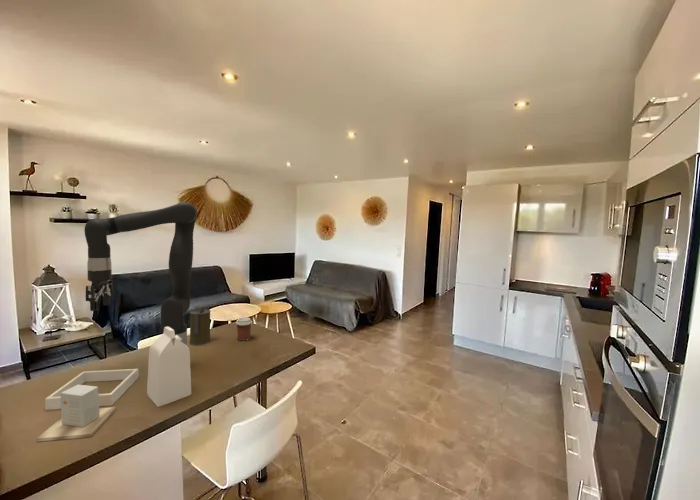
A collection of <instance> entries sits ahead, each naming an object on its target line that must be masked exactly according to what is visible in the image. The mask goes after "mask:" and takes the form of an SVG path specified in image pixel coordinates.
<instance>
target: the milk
mask: <svg viewBox="0 0 700 500" xmlns="http://www.w3.org/2000/svg"><path fill="white" fill-rule="evenodd" d="M181 340H182V338H180V337H179V336H177V335H176V336H175V332H174V330H173V329H172V328H170V327H164V333H162V334H161V335H160V336H159V337H158V338H157V339H156V340H155V341H154V342H152V344H151V345H150V346H149V349H148V364H147V365H148V366H147V368H148V369H147V370H148V371H147V383H146V384H147V387H146V396H148V397H149V399H151V401H152V403H154V404H155V406H157V408H160V407H162V406H164V405H168V404H171V403H173V402H175V401H178V400H181V399H183V398H185V397H188V396H191V395H192V378H191V376H192V374H191V357H190V356H191V353H190V351H191V350H190V348H189V347H188V346H189V345H188V344H187V345H188V346H187V345H185V344H184V343H182V342H181Z"/></svg>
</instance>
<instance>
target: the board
mask: <svg viewBox="0 0 700 500" xmlns="http://www.w3.org/2000/svg"><path fill="white" fill-rule="evenodd" d="M117 409H118V408H117V406H112V407H110V406H109V407H99V415H100V416H99V417H98V418H97V419H95V420H93V421H92V422H90V423H89V424H87V425H86V426H84V427H78V426H71V425H64V424H62V417H60V418H59V419H58V420H56V422H54V423H53V424H52V425H51V426H49V428H47V429H46V430H45V431H44V432H42V433H41V434H40V435H39V436H38V437H37V438H36V442H38V443H39V442H49V441H59V440H60V441H61V440H72V439H83V438H92V437H93V436H94V435H95V434H96V433H97V432H98V430H100V428H101V427H102V426H103V425H104V424H105V423H106V422H107V421H108V420H109V418H110V417H111V416H112V415H114V413H115V412H116V411H117Z"/></svg>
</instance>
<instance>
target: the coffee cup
mask: <svg viewBox="0 0 700 500" xmlns="http://www.w3.org/2000/svg"><path fill="white" fill-rule="evenodd" d="M252 324H253V320H251V318H250V317H249V316H248V317H247V316H246V317H244V316H243V317H238V319H237V320H236V321H235V325H236V330H237V331H236V332H237V340H238V339H239V340H247V339H249V338H250V337H251V336H250V335H251V329H252ZM249 340H250V339H249ZM247 341H248V340H247Z"/></svg>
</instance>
